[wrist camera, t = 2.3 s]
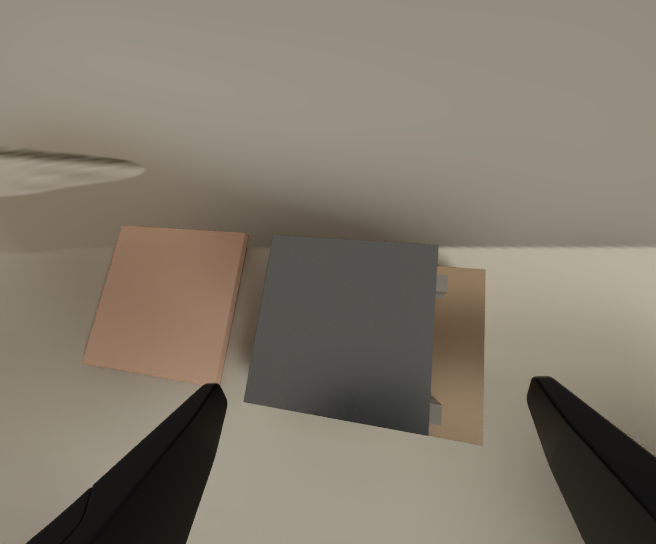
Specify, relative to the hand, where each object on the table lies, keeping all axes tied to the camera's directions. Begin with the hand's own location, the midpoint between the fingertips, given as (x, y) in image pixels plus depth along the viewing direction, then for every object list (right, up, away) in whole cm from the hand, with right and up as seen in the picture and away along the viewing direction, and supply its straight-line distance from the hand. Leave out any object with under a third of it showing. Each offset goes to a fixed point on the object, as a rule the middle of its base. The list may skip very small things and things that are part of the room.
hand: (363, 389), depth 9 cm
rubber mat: (-12, +2, +13) cm, 18 cm away
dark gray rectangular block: (+1, 0, +7) cm, 7 cm away
